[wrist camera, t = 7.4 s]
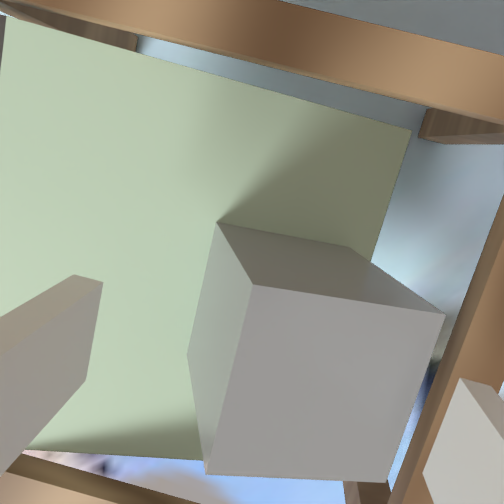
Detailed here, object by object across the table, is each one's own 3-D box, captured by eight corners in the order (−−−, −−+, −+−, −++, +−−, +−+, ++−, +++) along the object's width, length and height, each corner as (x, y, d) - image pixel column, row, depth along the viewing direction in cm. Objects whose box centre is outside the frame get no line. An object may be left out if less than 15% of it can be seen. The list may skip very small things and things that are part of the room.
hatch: (-44, 426, 17) (-55, 444, 16) (1, 17, 14) (-10, 11, 13) (297, 450, 21) (304, 466, 20) (398, 129, 17) (412, 130, 17)
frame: (62, 329, 30) (-118, 473, 17) (111, 30, 26) (-80, -88, 13) (355, 409, 29) (403, 622, 16) (454, 116, 25) (626, 85, 12)
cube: (186, 354, 17) (205, 474, 12) (216, 222, 16) (253, 284, 10) (313, 368, 18) (385, 482, 13) (349, 247, 17) (445, 314, 12)
